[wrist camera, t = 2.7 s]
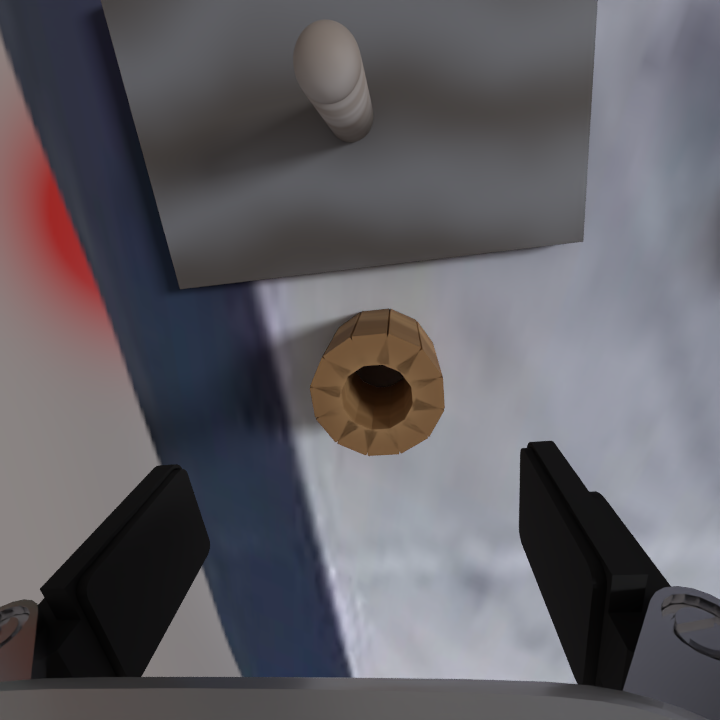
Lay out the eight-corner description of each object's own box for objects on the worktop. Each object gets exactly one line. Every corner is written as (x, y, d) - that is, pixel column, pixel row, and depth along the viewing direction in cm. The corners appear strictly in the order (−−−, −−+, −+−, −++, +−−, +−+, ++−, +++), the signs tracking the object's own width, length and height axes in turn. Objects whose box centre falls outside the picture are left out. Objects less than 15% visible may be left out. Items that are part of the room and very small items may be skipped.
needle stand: (569, 240, 19) (691, 252, 11) (194, 285, 22) (76, 321, 14) (586, -108, 15) (799, -478, 7) (119, -2, 18) (-112, -187, 10)
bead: (437, 404, 23) (447, 451, 18) (337, 411, 24) (322, 458, 19) (430, 304, 21) (439, 328, 16) (322, 315, 22) (301, 341, 17)
